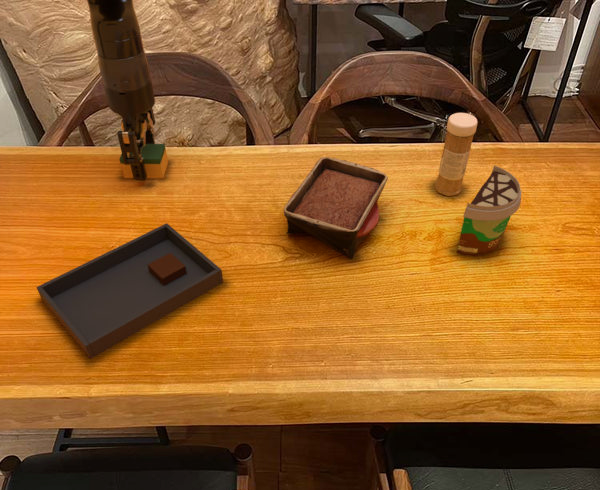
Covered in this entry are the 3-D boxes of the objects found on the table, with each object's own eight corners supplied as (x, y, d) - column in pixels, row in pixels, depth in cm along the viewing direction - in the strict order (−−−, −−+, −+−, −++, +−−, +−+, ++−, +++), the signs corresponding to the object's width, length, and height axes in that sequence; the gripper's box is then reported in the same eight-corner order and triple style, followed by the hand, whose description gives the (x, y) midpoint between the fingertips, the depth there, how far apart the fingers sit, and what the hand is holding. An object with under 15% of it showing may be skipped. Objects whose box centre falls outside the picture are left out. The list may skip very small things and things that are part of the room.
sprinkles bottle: (444, 178, 104) (458, 108, 95) (466, 189, 102) (483, 118, 92) (429, 189, 102) (443, 118, 92) (451, 200, 100) (468, 129, 90)
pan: (91, 361, 76) (85, 346, 73) (43, 302, 83) (35, 287, 81) (223, 285, 85) (221, 269, 83) (169, 238, 93) (166, 222, 91)
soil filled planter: (393, 223, 99) (399, 167, 93) (350, 275, 86) (354, 213, 80) (316, 205, 104) (317, 151, 98) (265, 250, 91) (263, 191, 85)
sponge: (124, 178, 104) (119, 158, 101) (130, 162, 108) (125, 143, 105) (163, 178, 104) (159, 159, 101) (168, 163, 108) (164, 143, 105)
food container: (491, 272, 87) (508, 219, 80) (452, 258, 89) (466, 205, 82) (517, 228, 94) (535, 175, 87) (480, 215, 97) (495, 163, 90)
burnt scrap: (163, 286, 84) (162, 278, 83) (149, 271, 86) (147, 264, 85) (187, 273, 86) (185, 265, 85) (172, 259, 88) (170, 252, 87)
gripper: (114, 58, 99) (133, 144, 110) (91, 99, 89) (115, 188, 100) (158, 59, 98) (173, 144, 110) (140, 99, 89) (159, 189, 100)
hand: (145, 165), depth 105 cm, fingers open, 8 cm apart
